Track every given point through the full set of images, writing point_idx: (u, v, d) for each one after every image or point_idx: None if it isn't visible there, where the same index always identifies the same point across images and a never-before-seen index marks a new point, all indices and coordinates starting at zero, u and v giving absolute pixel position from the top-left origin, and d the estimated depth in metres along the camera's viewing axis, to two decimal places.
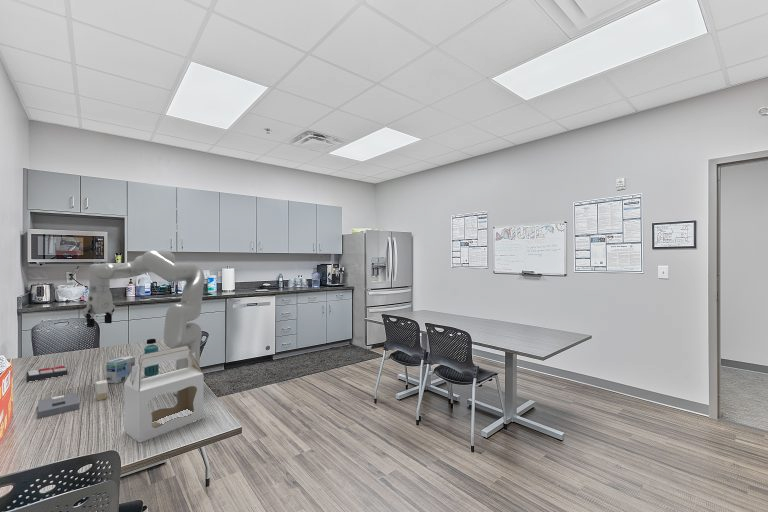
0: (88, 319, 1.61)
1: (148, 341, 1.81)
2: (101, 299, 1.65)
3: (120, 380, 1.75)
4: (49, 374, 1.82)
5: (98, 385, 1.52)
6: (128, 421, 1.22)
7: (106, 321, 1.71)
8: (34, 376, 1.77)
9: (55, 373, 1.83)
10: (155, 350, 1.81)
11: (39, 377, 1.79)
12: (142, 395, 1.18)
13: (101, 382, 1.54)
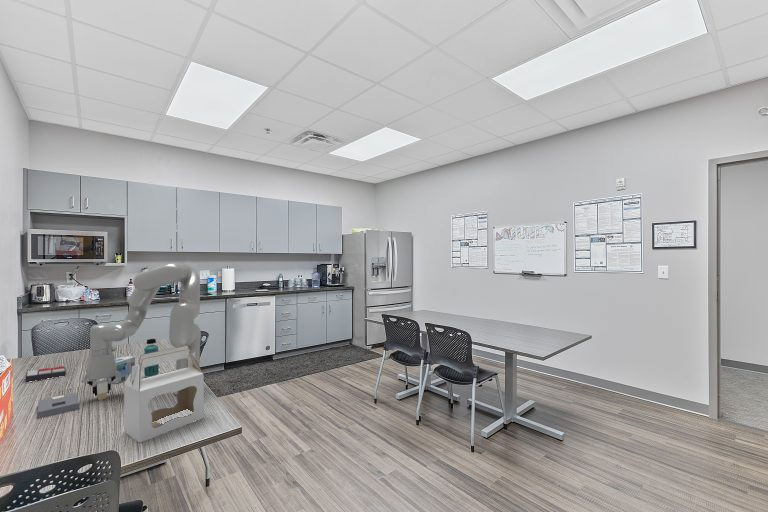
0: None
1: (148, 341, 1.81)
2: None
3: (120, 380, 1.75)
4: (47, 375, 1.81)
5: (98, 385, 1.52)
6: (128, 421, 1.22)
7: None
8: (32, 376, 1.77)
9: (53, 374, 1.82)
10: (155, 350, 1.81)
11: (37, 378, 1.78)
12: (142, 395, 1.18)
13: (101, 382, 1.54)
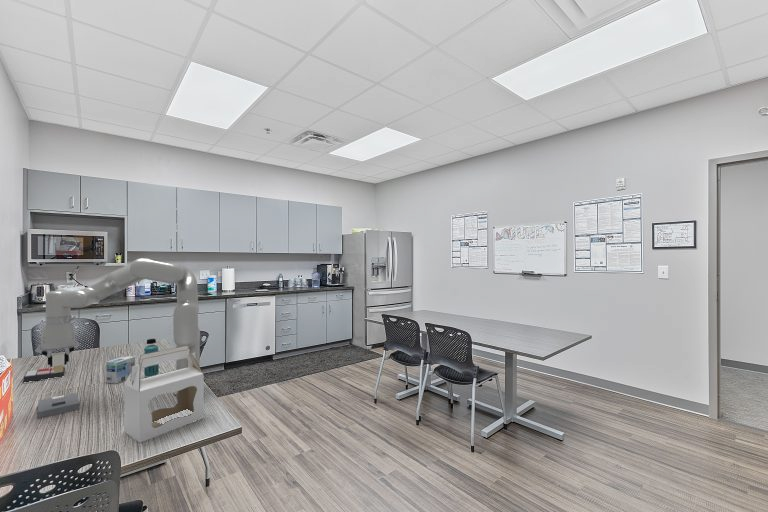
0: (68, 354, 1.46)
1: (148, 341, 1.81)
2: None
3: (120, 380, 1.75)
4: (45, 375, 1.80)
5: (54, 356, 1.41)
6: (128, 421, 1.22)
7: None
8: (30, 377, 1.76)
9: (51, 374, 1.81)
10: (155, 350, 1.81)
11: (35, 378, 1.77)
12: (142, 395, 1.18)
13: (58, 354, 1.43)
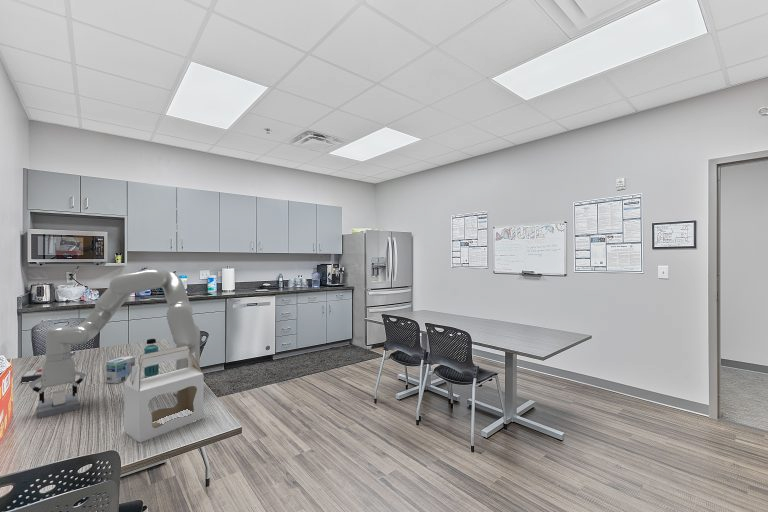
0: None
1: (148, 341, 1.81)
2: None
3: (120, 380, 1.75)
4: None
5: (55, 395, 1.41)
6: (128, 421, 1.22)
7: None
8: (27, 377, 1.76)
9: None
10: (155, 350, 1.81)
11: (32, 379, 1.77)
12: (142, 395, 1.18)
13: (58, 392, 1.43)
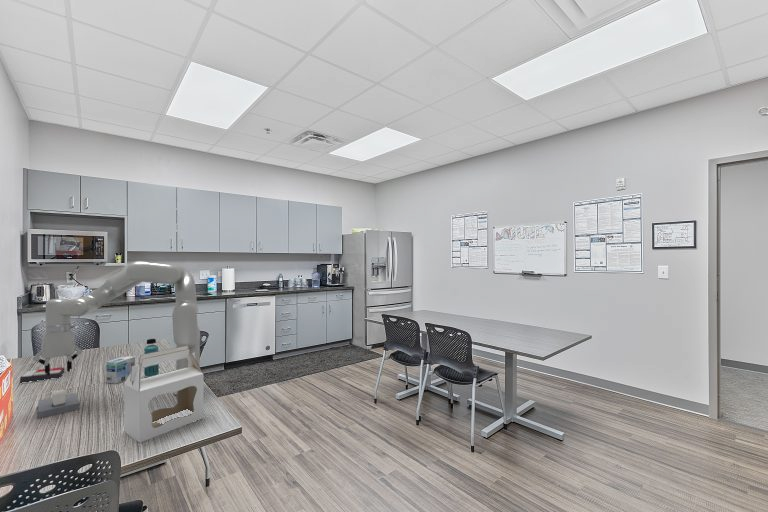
0: (71, 361, 1.46)
1: (148, 341, 1.81)
2: None
3: (120, 380, 1.75)
4: (41, 376, 1.78)
5: (55, 395, 1.41)
6: (128, 421, 1.22)
7: (49, 372, 1.41)
8: (26, 377, 1.75)
9: None
10: (155, 350, 1.81)
11: (31, 379, 1.76)
12: (142, 395, 1.18)
13: (58, 392, 1.43)
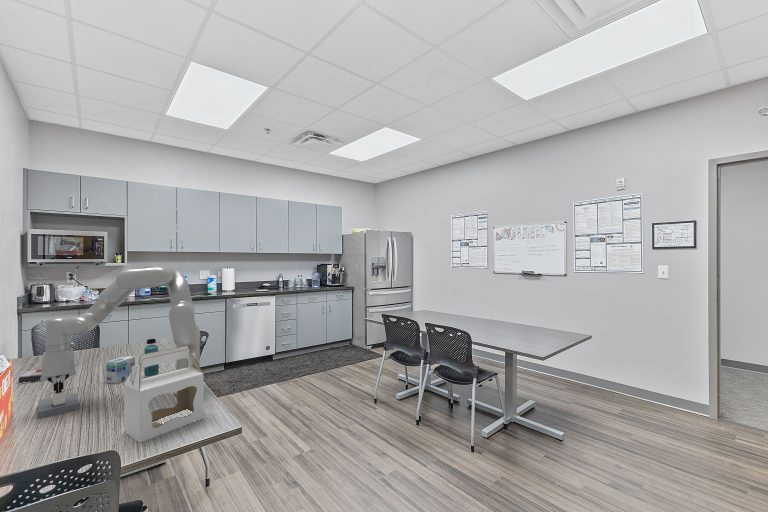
0: None
1: (148, 341, 1.81)
2: None
3: (120, 380, 1.75)
4: (40, 376, 1.78)
5: (55, 395, 1.41)
6: (128, 421, 1.22)
7: None
8: (25, 378, 1.75)
9: None
10: (155, 350, 1.81)
11: (30, 379, 1.76)
12: (142, 395, 1.18)
13: (58, 392, 1.43)
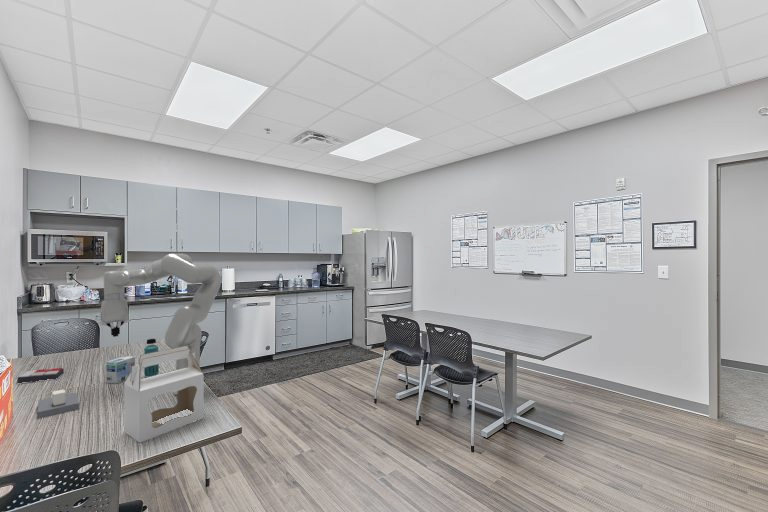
0: None
1: (148, 341, 1.81)
2: None
3: (120, 380, 1.75)
4: (38, 377, 1.77)
5: (55, 395, 1.41)
6: (128, 421, 1.22)
7: None
8: (23, 378, 1.75)
9: (44, 376, 1.79)
10: (155, 350, 1.81)
11: (28, 380, 1.76)
12: (142, 395, 1.18)
13: (58, 392, 1.43)
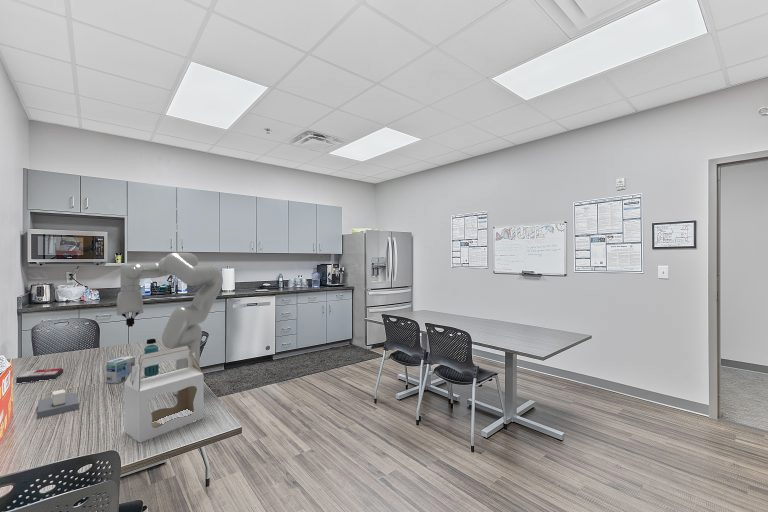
0: None
1: (148, 341, 1.81)
2: None
3: (120, 380, 1.75)
4: (37, 377, 1.77)
5: (55, 395, 1.41)
6: (128, 421, 1.22)
7: None
8: (22, 378, 1.75)
9: (43, 376, 1.78)
10: (155, 350, 1.81)
11: (27, 380, 1.75)
12: (142, 395, 1.18)
13: (58, 392, 1.43)
